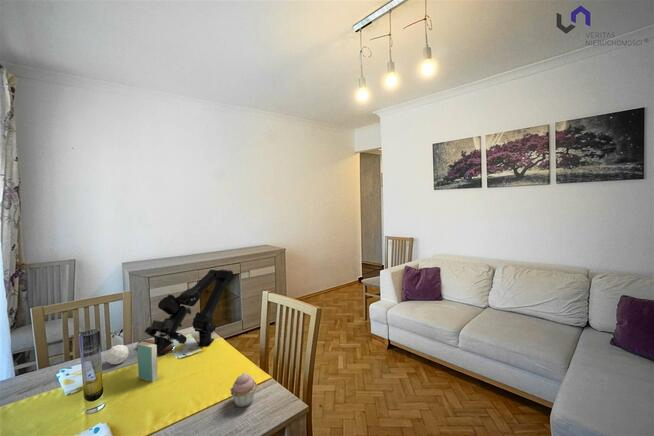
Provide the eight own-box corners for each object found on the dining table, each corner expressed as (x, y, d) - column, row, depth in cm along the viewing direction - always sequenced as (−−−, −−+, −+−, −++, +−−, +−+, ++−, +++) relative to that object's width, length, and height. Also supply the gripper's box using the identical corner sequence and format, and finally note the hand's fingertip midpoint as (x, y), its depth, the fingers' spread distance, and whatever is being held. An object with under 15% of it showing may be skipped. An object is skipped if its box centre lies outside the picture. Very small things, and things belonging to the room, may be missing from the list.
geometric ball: (112, 370, 120) (101, 355, 120) (131, 355, 126) (121, 342, 126) (114, 368, 115) (102, 353, 115) (134, 353, 121) (123, 339, 121)
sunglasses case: (178, 346, 134) (172, 338, 131) (168, 360, 129) (160, 352, 126) (152, 340, 141) (146, 332, 137) (141, 353, 135) (134, 345, 132)
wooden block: (143, 374, 113) (142, 341, 112) (157, 379, 110) (156, 344, 109) (137, 378, 110) (136, 343, 110) (152, 382, 108) (151, 347, 107)
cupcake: (258, 390, 103) (258, 364, 103) (256, 408, 94) (256, 380, 94) (232, 393, 102) (232, 367, 101) (227, 412, 93) (227, 383, 92)
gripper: (147, 308, 120) (122, 345, 110) (180, 314, 113) (156, 354, 103) (164, 319, 127) (141, 354, 117) (195, 325, 121) (174, 363, 111)
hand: (152, 356), depth 112 cm, fingers closed
